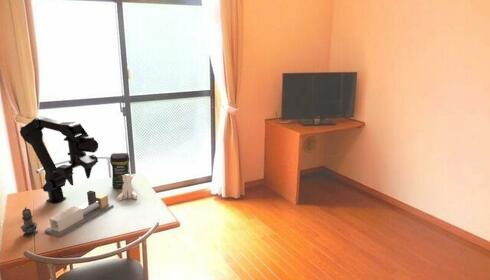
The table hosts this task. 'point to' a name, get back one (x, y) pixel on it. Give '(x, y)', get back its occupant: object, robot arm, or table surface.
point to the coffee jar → (119, 168)
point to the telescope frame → (75, 217)
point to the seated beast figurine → (127, 188)
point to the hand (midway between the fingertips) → (80, 181)
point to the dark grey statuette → (28, 224)
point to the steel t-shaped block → (90, 203)
